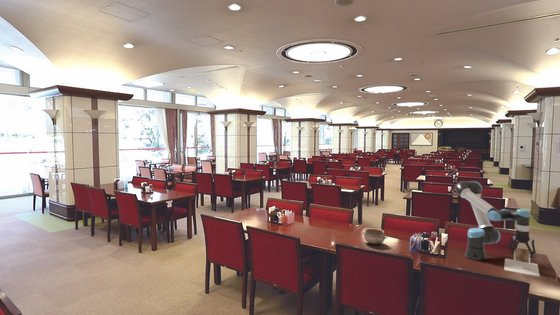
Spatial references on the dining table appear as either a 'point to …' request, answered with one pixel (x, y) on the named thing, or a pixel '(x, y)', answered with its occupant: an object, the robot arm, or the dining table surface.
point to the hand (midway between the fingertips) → (522, 260)
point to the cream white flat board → (521, 267)
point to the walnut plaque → (522, 255)
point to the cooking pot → (374, 236)
